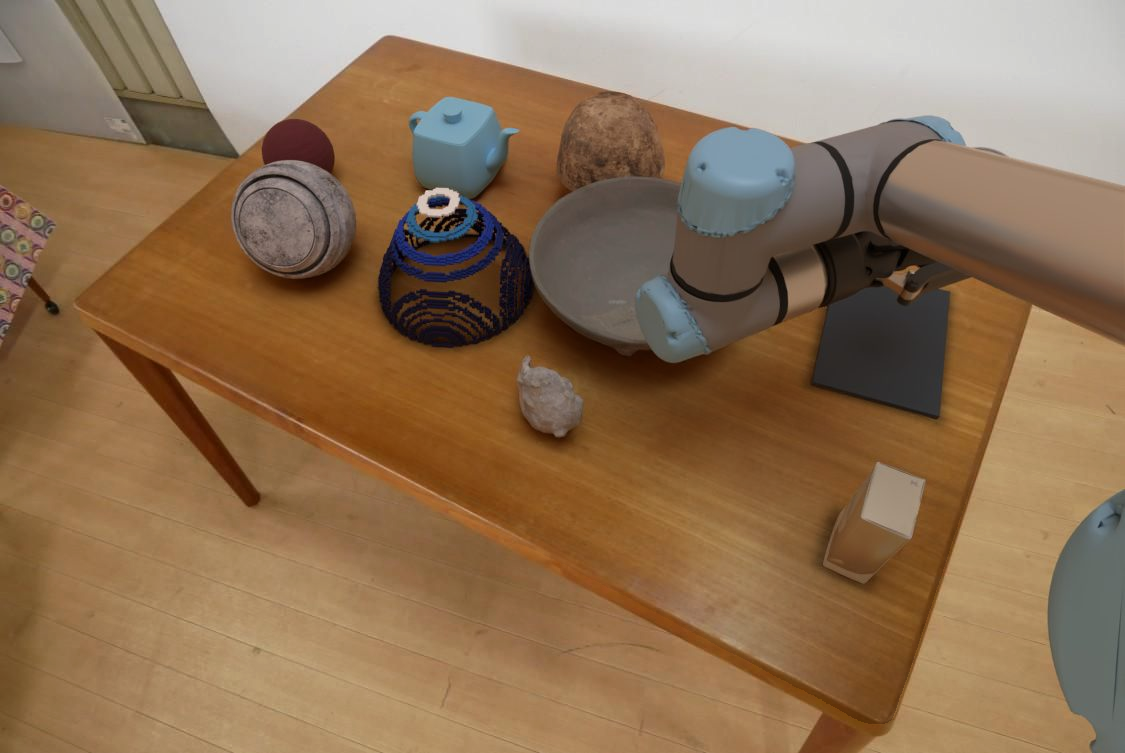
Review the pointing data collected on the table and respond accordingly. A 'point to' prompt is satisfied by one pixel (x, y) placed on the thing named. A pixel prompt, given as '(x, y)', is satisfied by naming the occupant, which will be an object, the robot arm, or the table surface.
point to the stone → (548, 399)
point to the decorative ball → (298, 144)
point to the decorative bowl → (402, 246)
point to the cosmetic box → (874, 523)
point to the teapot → (458, 146)
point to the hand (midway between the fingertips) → (1002, 195)
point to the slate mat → (886, 349)
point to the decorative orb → (293, 219)
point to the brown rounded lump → (609, 141)
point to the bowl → (605, 255)
